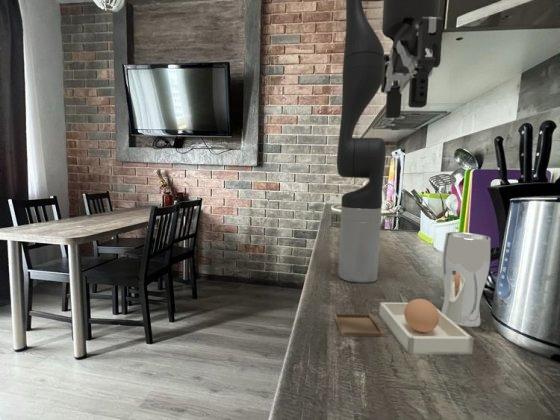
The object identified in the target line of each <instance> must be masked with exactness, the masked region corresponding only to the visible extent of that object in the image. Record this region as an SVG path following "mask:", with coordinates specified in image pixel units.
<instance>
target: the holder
mask: <svg viewBox="0 0 560 420" xmlns="http://www.w3.org/2000/svg"><path fill="white" fill-rule="evenodd" d="M332 315H333V316H332V317H333V320H334V322H335V324H336V326H337V328H338V331H339V334H340V336H341V337H342V338H344V337H345V338H346V337H350V338H351V337H353V338H354V337H360V338H361V337H366V338H376V337H379V338H382V337H385V335H386V333H385V332H384V331H383V329H382V327H381V326H380V324H378V322H377V321H376V319H375V317H374V316H373V315H372V314H371V313H333V314H332Z"/></svg>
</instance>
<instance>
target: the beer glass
mask: <svg viewBox="0 0 560 420" xmlns="http://www.w3.org/2000/svg"><path fill="white" fill-rule="evenodd" d="M490 264H491V237H490V236H487V235H484V234H479V233H473V232H464V231H463V232H462V231H451V232H446V233H445V239H444V243H443V251H442V263H441V267H442V269H441V270H442V279H443V285H444V286H443V287H444V288H443V289H444V297H443V298H444V299H443V304H442V307H441V310H440V311H441V312H442V313H443V314H444V315H446V316H447V317H448V318H449V319H450V320H452V321H453V322H454V323H455V324H457V325H458V326H462V327H468V328H472V327H478V328H479V326H481V323H482V321H481V314H480V303H481V298H482V295H483V292H484V289H485V285H486V282H487V279H488V276H489V270H490V266H491V265H490Z"/></svg>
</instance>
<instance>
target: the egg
mask: <svg viewBox="0 0 560 420" xmlns="http://www.w3.org/2000/svg"><path fill="white" fill-rule="evenodd" d="M407 303H408V304H407V305H406V307H405V311H404V316H405V320H406V322H407V323H408V325H409V326H410V327H411V328H413V329H414V330H416V331H419V332H429V331H431V330H433V329H434V328H435V327H436V326H437V324H438V322H439V313H438V311H437V309H438V308H437V307H436V306H435V305H434V304H433V303H432V302H430V301H429V300H427V299H425V298H415V299H412V300H410V301H409V302H407ZM436 308H437V309H436Z"/></svg>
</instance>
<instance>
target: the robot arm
mask: <svg viewBox="0 0 560 420" xmlns="http://www.w3.org/2000/svg"><path fill="white" fill-rule="evenodd" d="M363 2H375V3H376V2H383V6H382V8H383V9H382V24H381V25H382V26H381V27H382V28H381V32H382V35H384V36H385V37H386V38H388V39H390V40H391V41H392V47H391V48H390V51H389V54H385V50H384V46H383V45H382V42H381V40H380V38H379V36H378V35H377V33H376V31H375V30H374V28H373V27H372V25H371V24H370V22H369V21H368V19H367V16H366V13H365V11H364V7H363ZM345 6H346V7H345V8H346V9H345V11H346V13H345V14H346V15H345V16H346V18H345V23H346V24H345V39H344V40H345V41H344V49H343V50H344V53H343V63H342V90H341V91H342V93H341V94H342V97H341V100H342V102H341V104H342V105H341V115H340V116H341V117H340V125H339V134H338V143H337V144H338V145H337V153H336V154H337V155H336V169H337V173H338V175H339V176H340V177H341V178H346V179H348V178H349V179H351V178H352V179H353V178H354V179H368V182H367V183H366V184H365V185H364V186H362V187H361V188H358V189H357V190H353V191H350V192H346V193H344V194H343V195H342V196H341V204H340V205H341V207H340V209H341V210H340V231H339V233H340V234H339V251H338V252H339V253H338V255H339V257H338V274H337V275H338V277H339V278H340V279H342V280H344V281H347V282H352V283H357V284H358V283H360V284H368V283H374V282H376V281H377V280H378V270H379V255H380V239H381V237H380V236H381V220H382V203H383V202H382V200H383V199H382V198H383V185H384V183H383V182H384V176H385V175H384V174H385V166H386V157H387V147H386V142H385V140H384V139H383V138H381V137H353V136H354V132H355V128H356V126H357V124H358V122H359V120H360V118H361V117H362V115H363V113H364V111H365V110H366V108H367V107H368V106H369V104H370V103H371V102H372V100H373V99H374V97H375V96H376V94H377V93H378V91H379V90H380V93H383V94H385V95H386V98H385V99H386V100H385V114H384V115H385V118H387V119H398V118H400V116H401V110H402V98H403V97H402V94H403V93H402V92H403V89H404V86H405V83H406V82H407V81H409V85H408V86H409V87H408V102H407V105H408V107H409V108H414V109H415V108H416V109H421V108H423V107H426V106H427V103H428V92H429V91H428V90H429V78H430V77H431V76H432V75H433V71H434V69H433V68H439V66H440V64H441V58H442V38H443V37H442V36H443V35H442V34H443V18H442V17H441V16H440V8H441V0H345ZM430 50H431V51H432V54H431V51H430Z"/></svg>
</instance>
